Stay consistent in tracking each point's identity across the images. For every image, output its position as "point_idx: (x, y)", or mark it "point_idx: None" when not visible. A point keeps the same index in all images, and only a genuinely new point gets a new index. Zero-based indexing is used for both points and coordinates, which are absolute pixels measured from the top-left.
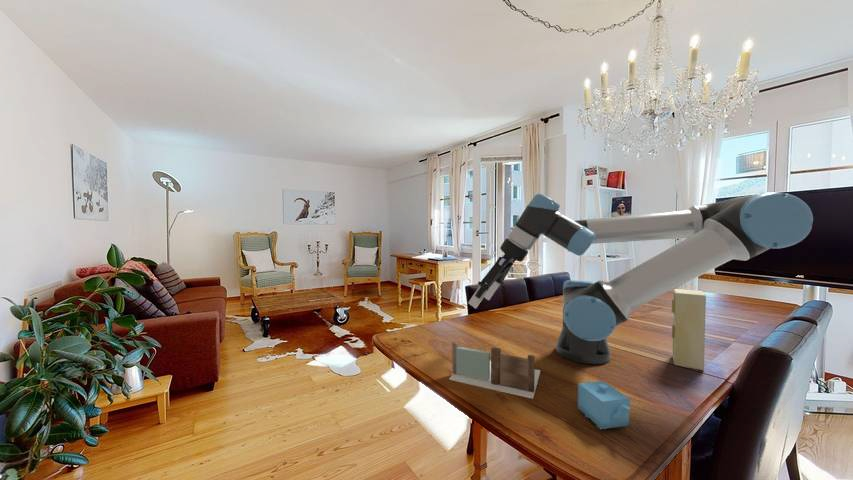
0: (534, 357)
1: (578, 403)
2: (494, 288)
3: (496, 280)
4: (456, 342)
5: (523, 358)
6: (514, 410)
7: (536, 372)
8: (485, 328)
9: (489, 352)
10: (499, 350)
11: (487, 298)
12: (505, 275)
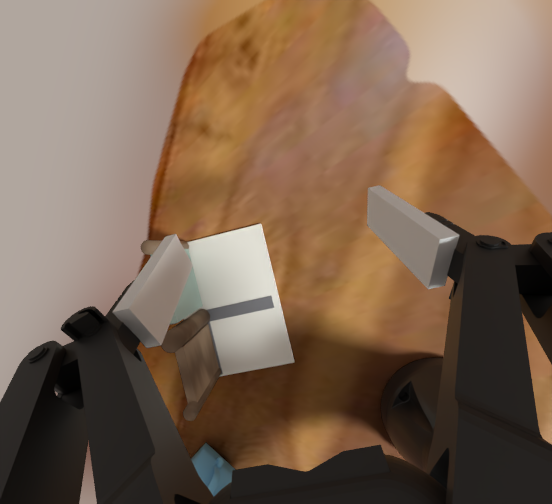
0: (190, 420)
1: (202, 449)
2: (404, 253)
3: (457, 262)
4: (153, 246)
5: (192, 392)
6: (158, 367)
7: (280, 359)
8: (464, 152)
9: (174, 323)
10: (170, 351)
11: (368, 219)
12: (541, 341)
